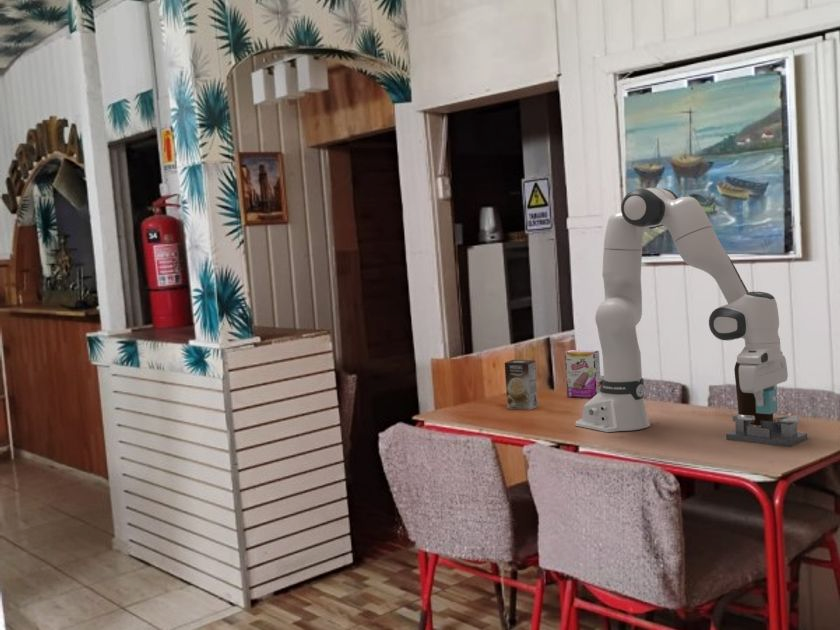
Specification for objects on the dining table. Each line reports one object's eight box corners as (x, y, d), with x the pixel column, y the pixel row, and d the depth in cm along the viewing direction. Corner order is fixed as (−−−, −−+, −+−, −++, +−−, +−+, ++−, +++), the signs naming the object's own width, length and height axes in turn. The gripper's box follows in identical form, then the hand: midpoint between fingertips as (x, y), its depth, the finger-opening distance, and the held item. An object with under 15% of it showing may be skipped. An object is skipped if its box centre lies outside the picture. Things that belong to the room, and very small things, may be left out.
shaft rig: (725, 439, 256) (724, 412, 255) (744, 431, 262) (742, 405, 262) (790, 446, 243) (789, 418, 242) (807, 438, 249) (806, 411, 249)
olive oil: (759, 427, 266) (756, 339, 264) (729, 422, 275) (725, 337, 273) (783, 420, 272) (779, 335, 270) (752, 416, 281) (748, 333, 279)
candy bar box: (566, 398, 331) (564, 351, 330) (572, 395, 336) (569, 349, 334) (597, 398, 326) (594, 352, 324) (602, 396, 330) (599, 349, 328)
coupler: (754, 412, 252) (753, 390, 252) (761, 410, 255) (760, 388, 254) (772, 414, 249) (771, 392, 248) (779, 411, 251) (778, 389, 251)
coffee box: (506, 409, 320) (503, 362, 318) (514, 405, 325) (511, 359, 324) (530, 410, 315) (527, 362, 314) (538, 406, 320) (535, 359, 319)
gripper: (770, 346, 260) (772, 395, 261) (733, 357, 246) (736, 410, 247) (792, 347, 255) (795, 397, 256) (756, 358, 241) (759, 411, 242)
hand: (765, 403), depth 252 cm, fingers closed on coupler, 4 cm apart
